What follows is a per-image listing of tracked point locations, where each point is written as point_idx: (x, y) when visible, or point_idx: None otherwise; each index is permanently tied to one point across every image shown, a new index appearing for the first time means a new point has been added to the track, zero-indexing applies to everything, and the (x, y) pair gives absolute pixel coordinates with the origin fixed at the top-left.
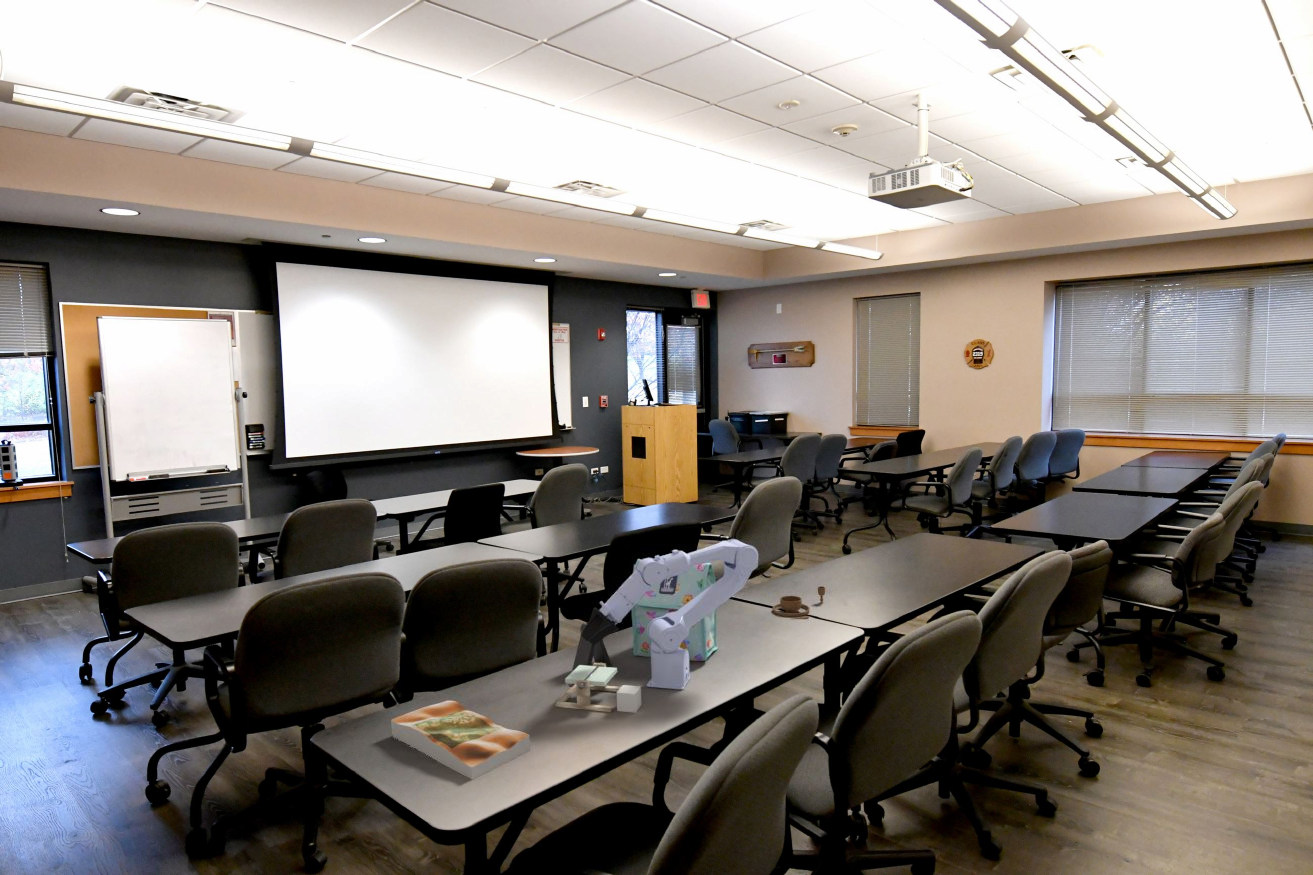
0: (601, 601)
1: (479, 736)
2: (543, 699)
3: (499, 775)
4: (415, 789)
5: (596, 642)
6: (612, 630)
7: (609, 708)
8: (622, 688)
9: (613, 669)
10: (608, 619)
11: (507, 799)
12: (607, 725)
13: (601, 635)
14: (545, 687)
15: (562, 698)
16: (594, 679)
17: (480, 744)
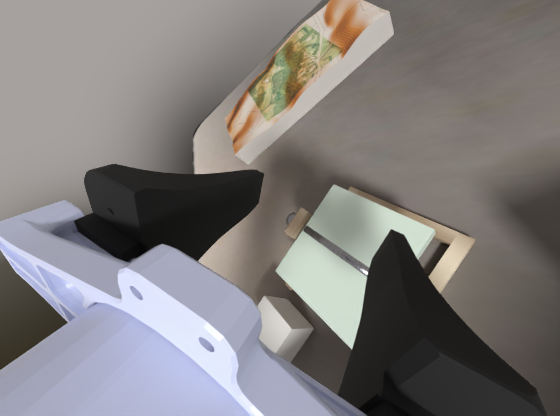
0: (119, 269)
1: (258, 104)
2: (400, 164)
3: (226, 145)
4: (242, 91)
5: (368, 273)
6: (341, 385)
7: (285, 282)
8: (275, 318)
9: (343, 331)
10: (380, 406)
11: (199, 158)
12: (252, 264)
13: (369, 304)
14: (490, 161)
15: (369, 199)
16: (299, 252)
17: (241, 111)
